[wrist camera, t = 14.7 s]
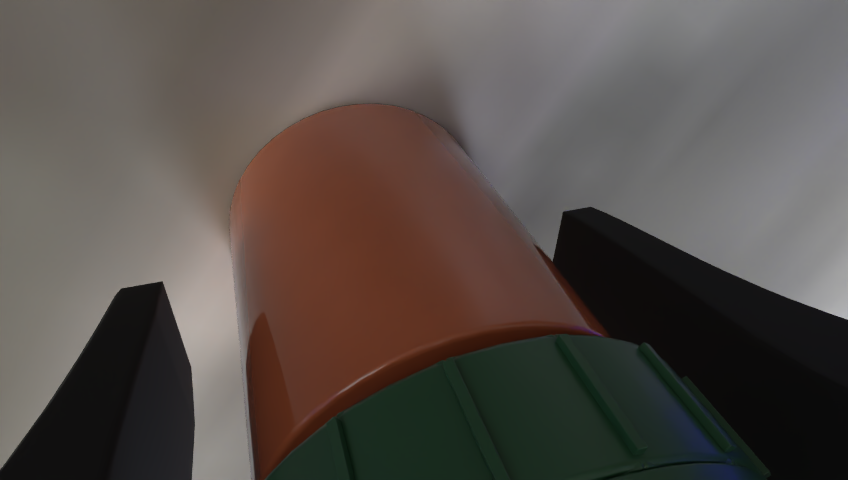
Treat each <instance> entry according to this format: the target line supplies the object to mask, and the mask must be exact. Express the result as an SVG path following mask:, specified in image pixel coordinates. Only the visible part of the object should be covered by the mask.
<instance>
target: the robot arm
mask: <svg viewBox="0 0 848 480" xmlns="http://www.w3.org/2000/svg"><path fill="white" fill-rule="evenodd" d="M553 263H554V264H555V266H556V267H557V268H558V269H559V271H560V272H561V273H562V274H563V276H564V277H565V278H566V279H567V281H568V282H569V283H570V284H571V286H572V287H573V288H574V289H575V291H576V292H577V293H578V295H579V296H580V297H581V298H582V300H583V301H584V302H585V303H586V305H587V306H588V307H589V308H590V310H591V311H592V312H593V313H594V315H595V316H596V317H597V318H598V320H599V321H600V322H601V323H602V325H603V326H604V327H605V329H606V330H607V331H608V332H609V334H610V335H611V336H612V337H613V339H619V340H624V341H627V342H632V343H634V344H637V345H639V346H640V345H641V344H642V343H643V342H645V343H647V344H649V345H650V346H651V347H652V348H653V349H654V350H655V352H656V353H657V354H658V355H659V356H660V358H661V359H663V360H665V361H666V362H667V363H668V365H669V366H670V367H671V368H672V369H673V370H674V371H675V372H676V373H677V374H678V376H679V377H680V378H681V379H682V378H683V377H685V376H687V377H688V378H689V379H690V380H691V382H692V383H693V384H694V385H695V386H696V387H697V388H698V390H699V391H700V392H701V393H702V394H703V395H704V397H705V398H706V399H707V400H708V401H709V402H710V403H711V405H712V406H713V407H714V408H715V409H716V410H717V411H718V413H719V414H720V415H721V416H722V417H723V418H724V419H725V421H726V422H727V423H728V424H729V425H730V426H731V428H732V429H733V430H734V431H735V432H736V433H737V434H738V436H739V437H740V438H741V439H742V440H743V441H744V442H745V444H746V445H747V446H748V447H749V448H750V449H751V450H752V452H753V453H754V454H755V455H756V456H757V457H758V459H759V460H760V461H761V462H762V463H763V464H764V465H765V467H766V468H767V469H768V470H769V471H770V474H771V475H770V476H769V477H767V478H766V479H767V480H848V320H847V319H844V318H841V317H838V316H835V315H832V314H829V313H826V312H824V311H821V310H818V309H816V308H813V307H810V306H807V305H805V304H802V303H799V302H797V301H794V300H791V299H789V298H786V297H784V296H781V295H779V294H776V293H774V292H771V291H769V290H766V289H764V288H762V287H759V286H757V285H755V284H753V283H750V282H748V281H746V280H743V279H741V278H739V277H737V276H734V275H732V274H730V273H728V272H725V271H723V270H721V269H719V268H717V267H715V266H713V265H711V264H708V263H706V262H704V261H702V260H700V259H698V258H696V257H694V256H692V255H690V254H688V253H686V252H684V251H682V250H680V249H678V248H676V247H674V246H672V245H670V244H668V243H666V242H664V241H662V240H660V239H658V238H656V237H654V236H652V235H650V234H648V233H646V232H644V231H642V230H640V229H638V228H636V227H634V226H632V225H630V224H628V223H626V222H624V221H622V220H620V219H618V218H615V217H613V216H611V215H609V214H607V213H604V212H602V211H600V210H597V209H595V208H592V207H587V208H582V209H576V210H570V211H565V212H563V215H562V220H561V225H560V229H559V234H558V239H557V244H556V249H555V254H554V258H553ZM194 429H195V419H194V401H193V387H192V373H191V366H190V363H189V360H188V357H187V354H186V351H185V348H184V345H183V341H182V338H181V335H180V332H179V329H178V326H177V323H176V320H175V317H174V314H173V311H172V308H171V305H170V302H169V299H168V296H167V293H166V290H165V287H164V284H163V281H162V282H157V283H151V284H145V285H139V286H134V287H128V288H122V289H120V291H119V292H118V293H117V294H116V295H115V297H114V299H113V300H112V302H111V304H110V306H109V307H108V309H107V311H106V312H105V314H104V316H103V318H102V319H101V321H100V323H99V325H98V326H97V328H96V330H95V331H94V333H93V335H92V336H91V338H90V340H89V341H88V343H87V344H86V346H85V348H84V349H83V351H82V353H81V354H80V356H79V358H78V359H77V361H76V362H75V364H74V365H73V367H72V368H71V370H70V371H69V373H68V374H67V376H66V378H65V379H64V381H63V382H62V384H61V385H60V387H59V388H58V390H57V391H56V393H55V394H54V396H53V397H52V399H51V400H50V402H49V403H48V405H47V406H46V408H45V409H44V411H43V412H42V414H41V415H40V416H39V418H38V419H37V420H36V422H35V423H34V425H33V426H32V427H31V429H30V430H29V431H28V433H27V434H26V436H25V437H24V438H23V440H22V441H21V442H20V444H19V445H18V447H17V448H16V449H15V451H14V452H13V453H12V455H11V456H10V458H9V459H8V460H7V462H6V463H5V464H4V466H3V467H2V468H1V469H0V480H192V465H193V447H194Z"/></svg>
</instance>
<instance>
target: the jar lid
mask: <svg viewBox="0 0 848 480" xmlns="http://www.w3.org/2000/svg"><path fill="white" fill-rule="evenodd" d="M770 475H771V474H770V471H769V470H768V469H767V468H766V467H765V465H764V464H763V463H762V462H761V461H760V460H759V459H758V457H757V456H756V455H755V454H754V453H753V452H752V450H751V449H750V448H749V447H748V446H747V445H746V444H745V442H744V441H743V440H742V439H741V438H740V437H739V436H738V434H737V433H736V432H735V431H734V430H733V429H732V428H731V426H730V425H729V424H728V423H727V422H726V421H725V419H724V418H723V417H722V416H721V415H720V414H719V413H718V411H717V410H716V409H715V408H714V407H713V406H712V405H711V403H710V402H709V401H708V400H707V399H706V398H705V397H704V395H703V394H702V393H701V392H700V391H699V390H698V388H697V387H696V386H695V385H694V384H693V383H692V382H691V380H690V379H689V378H688V377H687V376H685V377H683V378H682V379H681V378H680V377H679V376H678V374H677V373H676V372H675V371H674V370H673V369H672V368H671V367H670V366H669V365H668V363H667V362H666V361H665V360H663V359H661V358H660V356H659V355H658V354H657V353H656V352H655V350H654V349H653V348H652V347H651V346H650V345H649V344H647V343H645V342H643V343H642V344H641V345H640V346H639V345H637V344H634V343H632V342H627V341H624V340H619V339H613V338H608V337H603V336H591V335H568V334H555V335H546V336H542V337H535V338H530V339H524V340H518V341H513V342H507V343H502V344H498V345H494V346H491V347H487V348H483V349H480V350H476V351H472V352H469V353H465V354H462V355H458V356H454V357H449V358H447V359H446V361H445V360H441V361H439V362H437V363H435V364H433V365H431V366H429V367H427V368H425V369H422V370H420V371H418V372H416V373H414V374H412V375H409V376H407V377H405V378H403V379H401V380H399V381H396V382H394V383H392V384H390V385H388V386H386V387H384V388H383V389H381V390H379V391H377V392H375V393H374V394H372V395H370V396H368V397H367V398H365V399H363V400H361V401H360V402H358V403H356V404H354V405H352V406H351V407H349V408H347V409H345V410H343V411H342V412H340V413H338V414H337V415H336V416H334V417H332V418H331V419H330V420H329V421H328V422H327V423H325V424H324V425H323V426H322V427H320V428H319V429H318V430H317V431H315V432H314V433H313V434H312V435H311V436H309V437H308V438H307V439H306V440H305V441H303V442H302V443H301V444H300V445H299V446H297V447H296V448H295V449H294V450H293V451H291V452H290V453H289V454H288V455H287V456H286V457H285V459H284V460H283V461H282V462H281V463H280V464H279V465H278V466H277V467H276V468H275V469H274V470H273V471H272V472H271V473H270V474H269V475H268V476H267V477H266V479H265V480H767V479H766V478H767V477H769V476H770Z"/></svg>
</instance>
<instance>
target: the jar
mask: <svg viewBox="0 0 848 480" xmlns="http://www.w3.org/2000/svg"><path fill="white" fill-rule="evenodd" d="M229 231H230V242H231V254H232V265H233V277H234V288H235V300H236V311H237V323H238V334H239V346H240V357H241V369H242V380H243V392H244V403H245V415H246V426H247V438H248V449H249V461H250V472H251V480H265V479H266V477H267V476H268V475H269V474H270V473H271V472H272V471H273V470H274V469H275V468H276V467H277V466H278V465H279V464H280V463H281V462H282V461H283V460H284V459H285V457H286V456H287V455H288V454H289V453H290V452H291V451H293V450H294V449H295V448H296V447H297V446H299V445H300V444H301V443H302V442H303V441H305V440H306V439H307V438H308V437H309V436H311V435H312V434H313V433H314V432H315V431H317V430H318V429H319V428H320V427H322V426H323V425H324V424H325V423H327V422H328V421H329V420H330V419H331V418H332V417H334V416H336V415H337V414H338V413H340V412H342V411H343V410H345V409H347V408H349V407H351V406H352V405H354V404H356V403H358V402H360V401H361V400H363V399H365V398H367V397H368V396H370V395H372V394H374V393H375V392H377V391H379V390H381V389H383V388H384V387H386V386H388V385H390V384H392V383H394V382H396V381H399V380H401V379H403V378H405V377H407V376H409V375H412V374H414V373H416V372H418V371H420V370H422V369H425V368H427V367H429V366H431V365H433V364H435V363H437V362H439V361H441V360H445V361H446V359H447V358H449V357H454V356H458V355H462V354H465V353H469V352H472V351H476V350H480V349H483V348H487V347H491V346H494V345H498V344H502V343H507V342H513V341H518V340H524V339H530V338H535V337H542V336H546V335H555V334H568V335H591V336H603V337H608V338H613V337H612V336H611V335H610V334H609V332H608V331H607V330H606V329H605V327H604V326H603V325H602V323H601V322H600V321H599V320H598V318H597V317H596V316H595V315H594V313H593V312H592V311H591V310H590V308H589V307H588V306H587V305H586V303H585V302H584V301H583V300H582V298H581V297H580V296H579V295H578V293H577V292H576V291H575V289H574V288H573V287H572V286H571V284H570V283H569V282H568V281H567V279H566V278H565V277H564V276H563V274H562V273H561V272H560V271H559V269H558V268H557V267H556V266H555V264H554V263H553V262H552V261H551V259H550V258H549V257H548V255H547V254H546V253H545V252H544V250H543V249H542V248H541V247H540V245H539V244H538V243H537V242H536V240H535V239H534V238H533V237H532V235H531V234H530V233H529V232H528V230H527V229H526V228H525V227H524V225H523V224H522V223H521V221H520V220H519V219H518V218H517V216H516V215H515V214H514V213H513V211H512V210H511V209H510V208H509V206H508V205H507V204H506V203H505V201H504V200H503V199H502V198H501V196H500V195H499V194H498V193H497V191H496V190H495V189H494V188H493V186H492V185H491V184H490V182H489V181H488V180H487V179H486V177H485V176H484V175H483V174H482V172H481V171H480V170H479V169H478V167H477V166H476V165H475V164H474V162H473V161H472V160H471V159H470V157H469V156H468V155H467V154H466V152H465V151H464V150H463V148H462V147H461V146H460V145H459V143H458V142H457V141H456V140H455V139H454V138H453V137H452V136H451V135H450V133H449V132H447V131H446V130H445V129H444V128H442V127H441V126H440V125H439V124H437V123H436V122H434V121H432V120H431V119H429V118H427V117H425V116H423V115H421V114H418V113H416V112H414V111H411V110H408V109H404V108H400V107H396V106H391V105H382V104H355V105H348V106H341V107H336V108H333V109H329V110H325V111H322V112H319V113H317V114H314V115H312V116H309V117H307V118H304V119H302V120H301V121H299V122H297V123H295V124H293V125H292V126H290V127H288V128H287V129H285V130H284V131H283V132H281V133H280V134H278V135H277V136H276V137H274V138H273V139H272V140H271V141H270V142H269V143H268V144H267V145H266V146H265V147H264V148H263V149H261V150H260V151H259V153H258V154H257V155H256V156H255V158H254V159H253V160H252V161H251V163H250V164H249V165H248V167H247V168H246V170H245V172H244V173H243V175H242V177H241V179H240V180H239V183H238V185H237V188H236V190H235V193H234V195H233V200H232V204H231V208H230V218H229Z"/></svg>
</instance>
